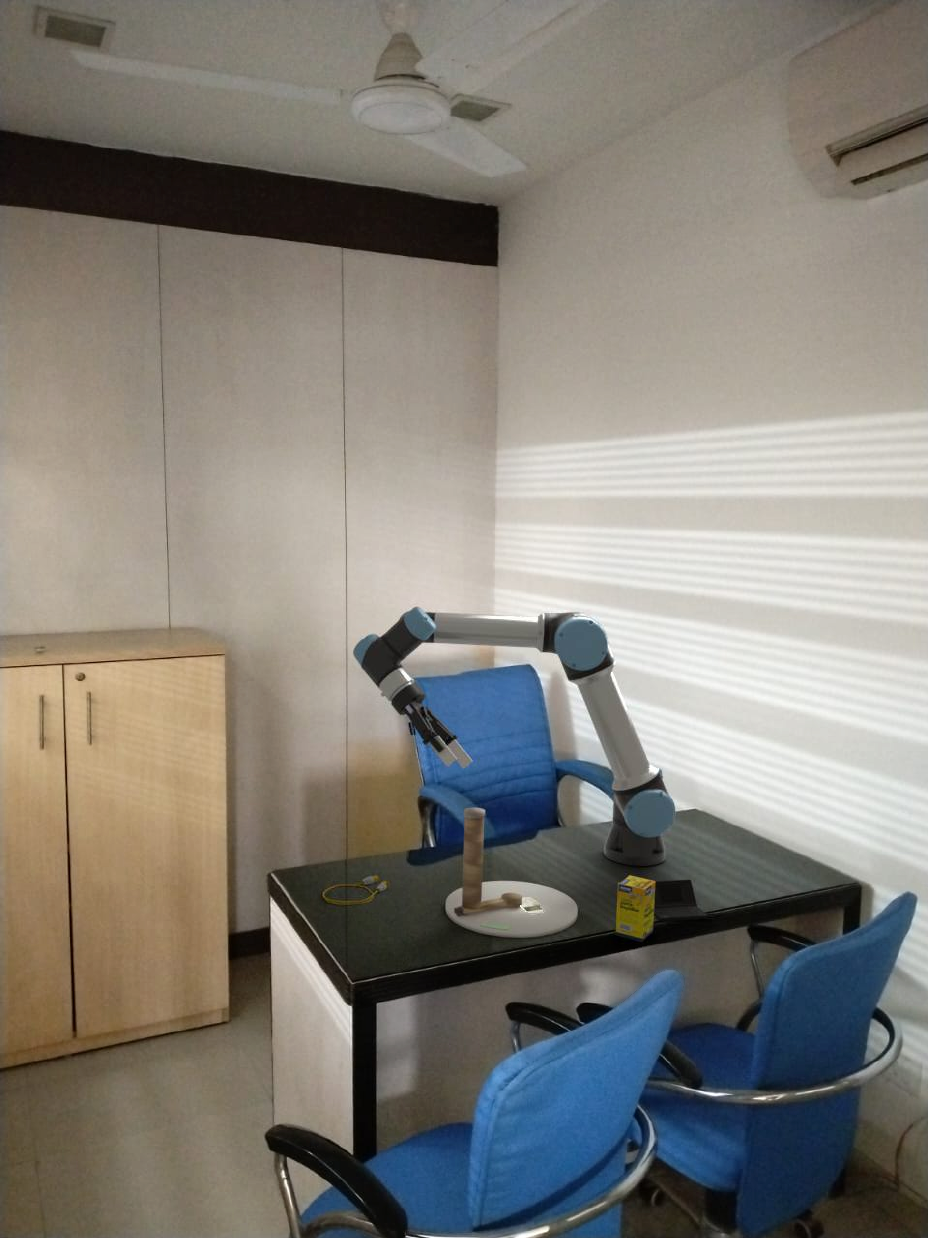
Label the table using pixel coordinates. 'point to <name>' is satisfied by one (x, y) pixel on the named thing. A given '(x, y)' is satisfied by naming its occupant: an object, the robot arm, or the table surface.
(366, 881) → the extension cord
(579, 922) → the table surface
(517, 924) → the dial plate
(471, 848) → the lever
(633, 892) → the supplement box
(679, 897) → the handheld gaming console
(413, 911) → the table surface
